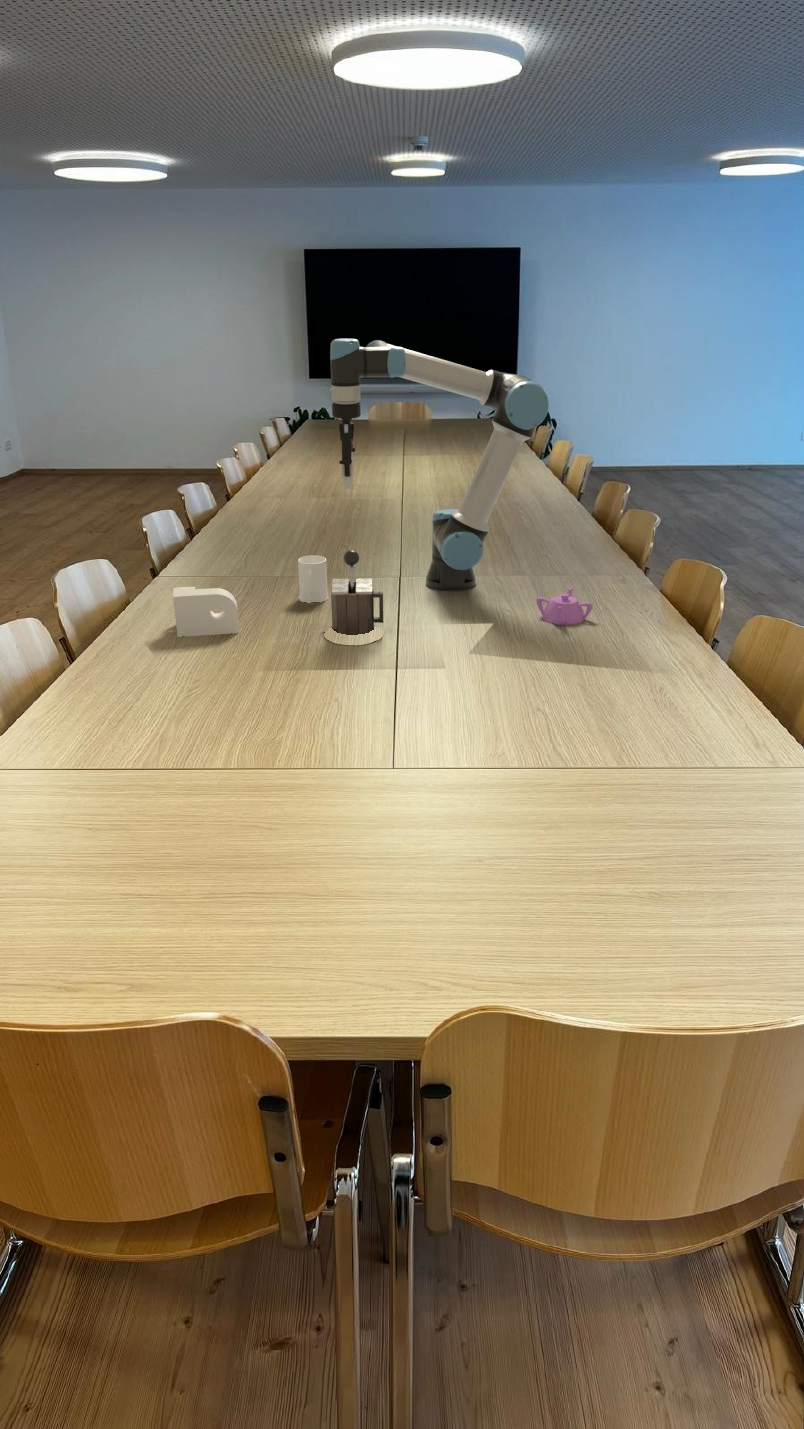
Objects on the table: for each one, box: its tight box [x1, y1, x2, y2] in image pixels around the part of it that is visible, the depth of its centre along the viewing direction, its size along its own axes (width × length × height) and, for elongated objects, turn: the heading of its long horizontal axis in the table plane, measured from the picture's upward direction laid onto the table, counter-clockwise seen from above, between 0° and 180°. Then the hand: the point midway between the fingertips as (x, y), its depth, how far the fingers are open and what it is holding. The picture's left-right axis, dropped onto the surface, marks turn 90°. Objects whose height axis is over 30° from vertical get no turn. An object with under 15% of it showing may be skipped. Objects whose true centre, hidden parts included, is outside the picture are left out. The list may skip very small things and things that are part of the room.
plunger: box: [343, 549, 360, 594], centre depth 254 cm, size 7×7×21 cm
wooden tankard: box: [330, 577, 384, 635], centre depth 257 cm, size 14×12×13 cm
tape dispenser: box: [172, 586, 240, 638], centre depth 259 cm, size 16×10×13 cm, turn 100°
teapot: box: [536, 584, 594, 626], centre depth 263 cm, size 12×14×9 cm
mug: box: [297, 554, 330, 604], centre depth 280 cm, size 12×8×12 cm
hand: (348, 482), depth 266 cm, fingers open, 13 cm apart
